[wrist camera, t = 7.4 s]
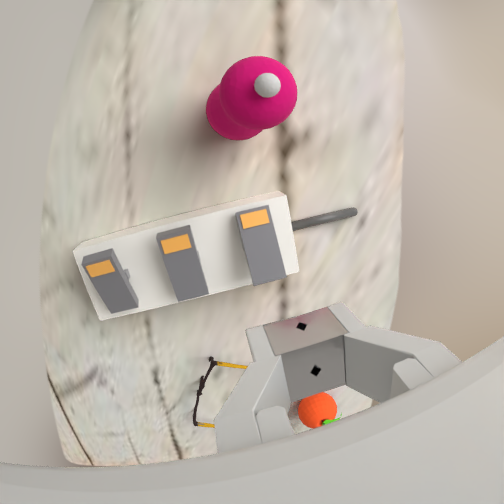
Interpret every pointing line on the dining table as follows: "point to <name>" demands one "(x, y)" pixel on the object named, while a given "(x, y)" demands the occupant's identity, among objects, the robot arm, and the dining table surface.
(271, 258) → the rocker
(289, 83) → the pepper mill
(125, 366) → the dining table surface
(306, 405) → the clementine
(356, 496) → the robot arm
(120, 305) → the block
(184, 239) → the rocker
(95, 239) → the power strip
